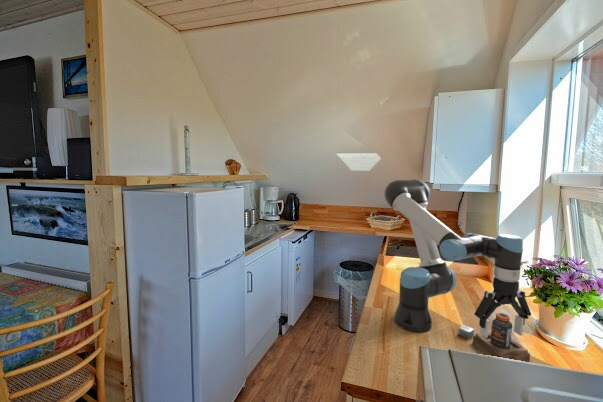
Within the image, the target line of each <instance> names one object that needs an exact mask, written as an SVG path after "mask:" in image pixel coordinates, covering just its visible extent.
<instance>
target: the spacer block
mask: <svg viewBox="0 0 603 402" xmlns="http://www.w3.org/2000/svg"><path fill="white" fill-rule="evenodd" d="M458 335H459V336H461V337H462V338H465V339H467V340H470V339H471V338H473V335H475V328H473V327H470V326H468V325H465V324H462V325H461V326H460V327H458Z"/></svg>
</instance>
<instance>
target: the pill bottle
mask: <svg viewBox="0 0 603 402" xmlns="http://www.w3.org/2000/svg"><path fill="white" fill-rule="evenodd" d="M510 320H511V317H510V316H509V314H507V313H504V312H496V313H495V317H493V318H492V322H491V329H490V330H491V332H490V333H491V343H492V344H493V345H495V346H497V347H499V348H503V349H508V348H510V344H511V339H512V334H513V323H512V322H511V321H510Z"/></svg>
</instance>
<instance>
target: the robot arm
mask: <svg viewBox="0 0 603 402" xmlns="http://www.w3.org/2000/svg"><path fill="white" fill-rule="evenodd" d="M430 197H431V190H430V187H429V185H428V184H427V183H426V182H425V181H423V180H420V179H404V180H403V179H401V180H398V179H397V180H393V181H391V182H390V183H388V184H387V185H386V187H385V190H384V199H385V201H386V203H387V204H388V205H389V207H390V208H392V209H393V210H394V211H396V212H400V213H401V214H402V215H403V216H404V217H405V218H406V219H408V220H409V223H410V227H411V228H410V229H411V231H412V234H413V238H414V241H415V242H414V243H415V245H416V249H417V252H418V256H419V261H420V263H419V264H418V266H415V267H414V266H410V267H409V266H408V267H406V268H404V269H403V270H402V271H401V273H400V277H399V300H398V305H397V307H396V310H395V312H394V315H393V316H394V318H393V320H395V321H394V322H395V324H396V323H397V324H398V325H397V324H396V325H397V326H399V327H400V326H401V327H400V328H402V327H403V328H402V329H404V328H405V329H404V330H406V329H407V330H406V331H409V330H410V332H413V331H414V333H425V332H428V331H430V330H431V329H432V324H433V323H432V321H433V320H432V317H431V313H430V311H429V298H433V297H437V296H440V295H445V294H447V293H450V292H452V291H453V290H454V289H455V287H456V284H457V275H456V274H455V271H454V270H452V269H451V267H449V266H447V263H446V261H445V260H447V261H454V262H455V261H461V260H464V259H465V260H466V259H468V258H474V257H480V256H481V257H484V258H489V259H494V265H493V278H492V287H493V291H489V290H485V291H484V292H483V293H484V294H483V298H482V299H481V301H480V303H479V305H478V306H477V307H476V310H475V312H474V316H476V317H477V319H479V324H478V325H479V327H480V330H479V333H480V334H481V335H483V336H484V337H485V338H488V333H489V325H490V320H489V318H490V316H492V314H493V313H494V312H495V311H496V310H497V308H499V307H501V306H502V305H503V306H504V305H511V307H512V308H513V309H514V311H515V312H516V313H517V314H515V317H514V318H515V319H514V326H513V327H514V328H513V332H514V333H516V334H517V335H519V336H523V332H524V326H525V324H526V320H527V319H529V317H531V316H532V313H531V309H530V307H529V305H528V302H527V299H526V292H525V291H523V290H521V289H520V281H519V280H520V277H521V268H522V267H521V266H522V257H523V252H524V250H523V249H524V248H523V247H524V246H523V245H524V244H523V242H524V241H523V238H522V237H520V236H518V235H513V234H509V233H508V234H507V233H506V234H505V233H501V234H497V235H496V238H495V237H492V236H491V237H490V236H486V235H482V234H478V233H471V232H467V233H465V234H464V235H462V237H461V236H460V235H458V234H457V233H455V232H454V231H453V230H452V229H450V228H449V227H448V226H447V225H445V223H443V222H442V221H440V220H439V219H438V218H436V217H435V216H434V214H432V213H430V212H429V211H428V210H427V207H428V206H429V202H428V200H429V199H430ZM438 246H439V248H438ZM440 254H441V255H440ZM441 256H442V257H443V258H444V259H445V260H443V258H441ZM516 299H517V300H516Z"/></svg>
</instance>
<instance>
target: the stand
mask: <svg viewBox="0 0 603 402" xmlns="http://www.w3.org/2000/svg"><path fill="white" fill-rule="evenodd" d="M472 344H473V345H475V346H476V347H477V348H478V349H479V350H480V351H482V352H483V353H484V354H485V355H486V356H487V355H491V356H497V357H503V358H509V359H514V360H521V361H527V362H526V363H530V358H531V353H530V352H528V349H526V347H524V346H522V345H521V344H520V343H519V342H518V341H517V342H516V341H515V340H514V339H513V338H511V344H510V348H508V349H503V348H499V347H497V346H495V345H493V344H492V343H491V332H488V338H485V337H484V336H483V335H481V334H480V332H479V333H474V335H473V337H472Z"/></svg>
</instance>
